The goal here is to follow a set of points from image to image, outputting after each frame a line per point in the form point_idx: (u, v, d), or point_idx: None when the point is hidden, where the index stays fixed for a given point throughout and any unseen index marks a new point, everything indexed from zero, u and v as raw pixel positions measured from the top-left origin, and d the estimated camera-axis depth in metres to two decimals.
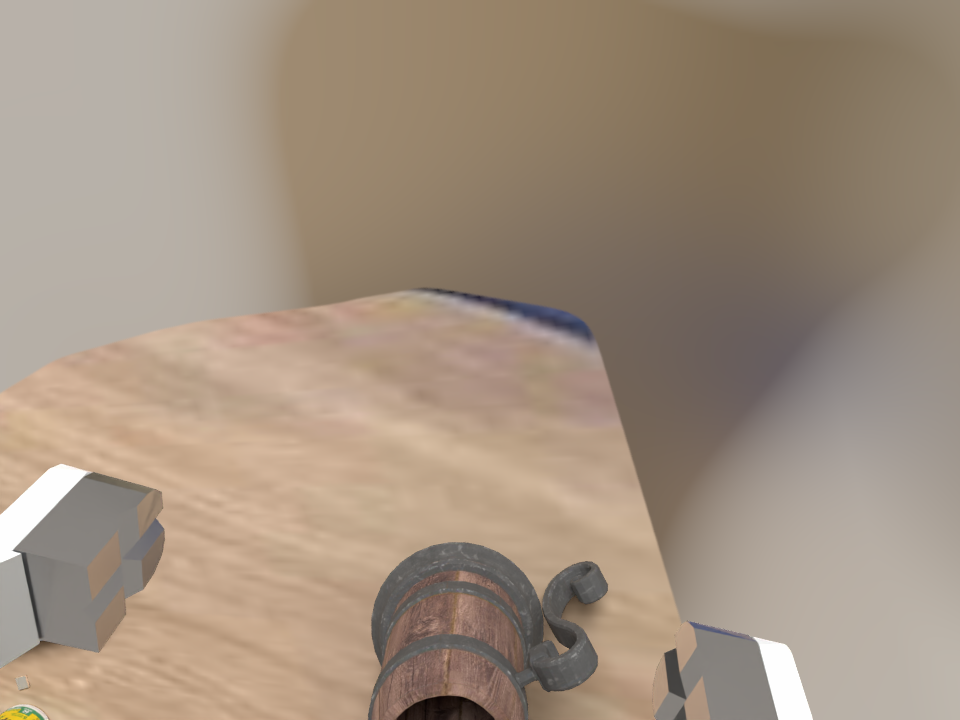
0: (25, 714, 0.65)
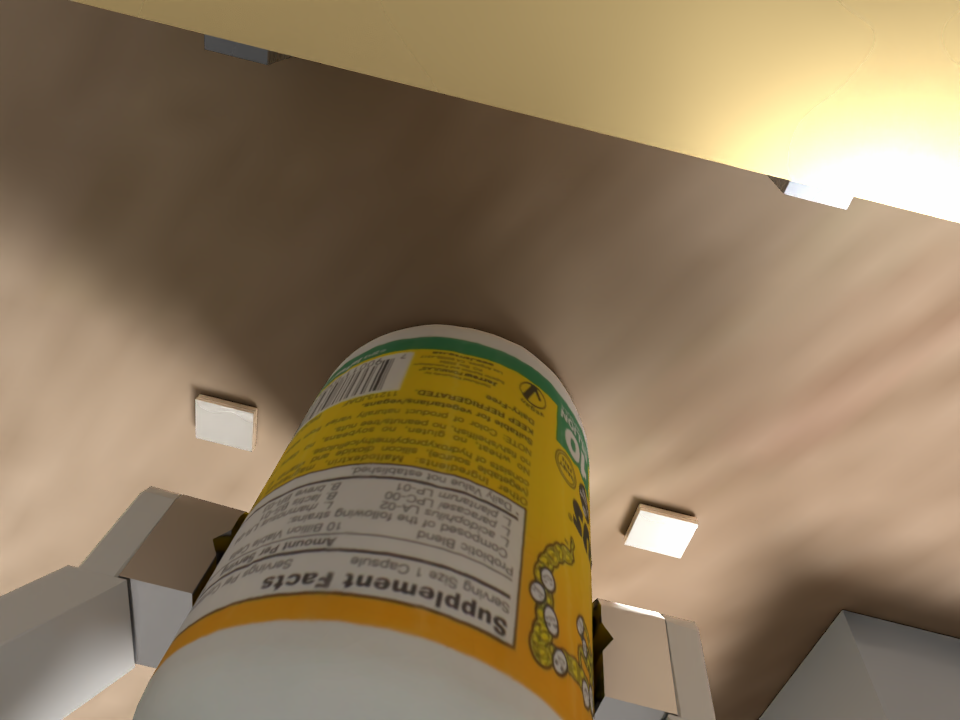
0: None
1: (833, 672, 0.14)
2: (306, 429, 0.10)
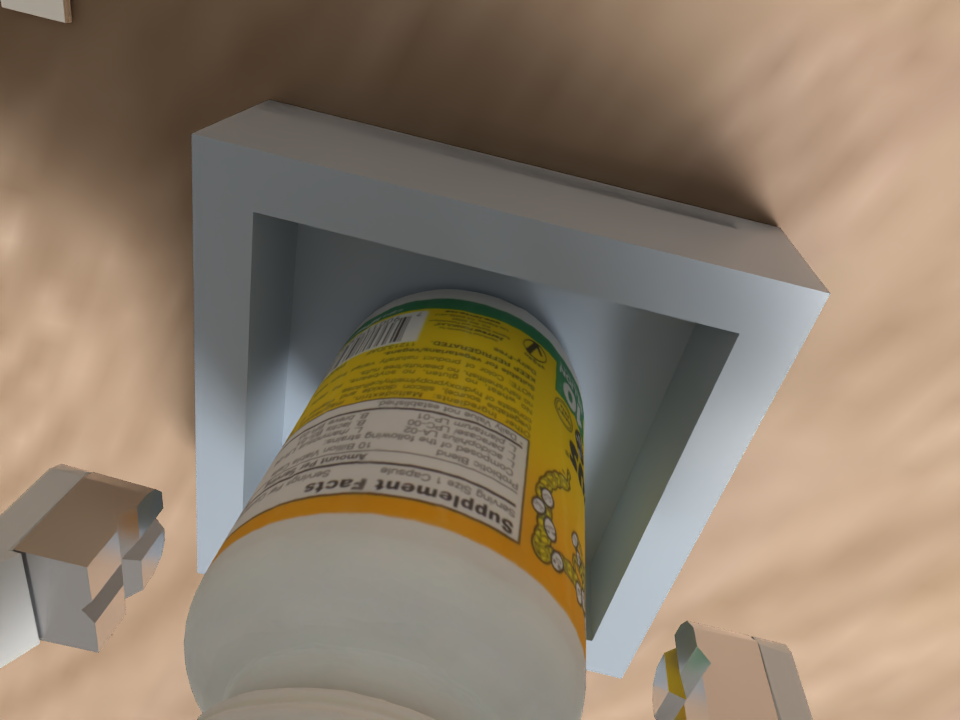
0: None
1: None
2: (332, 375, 0.11)
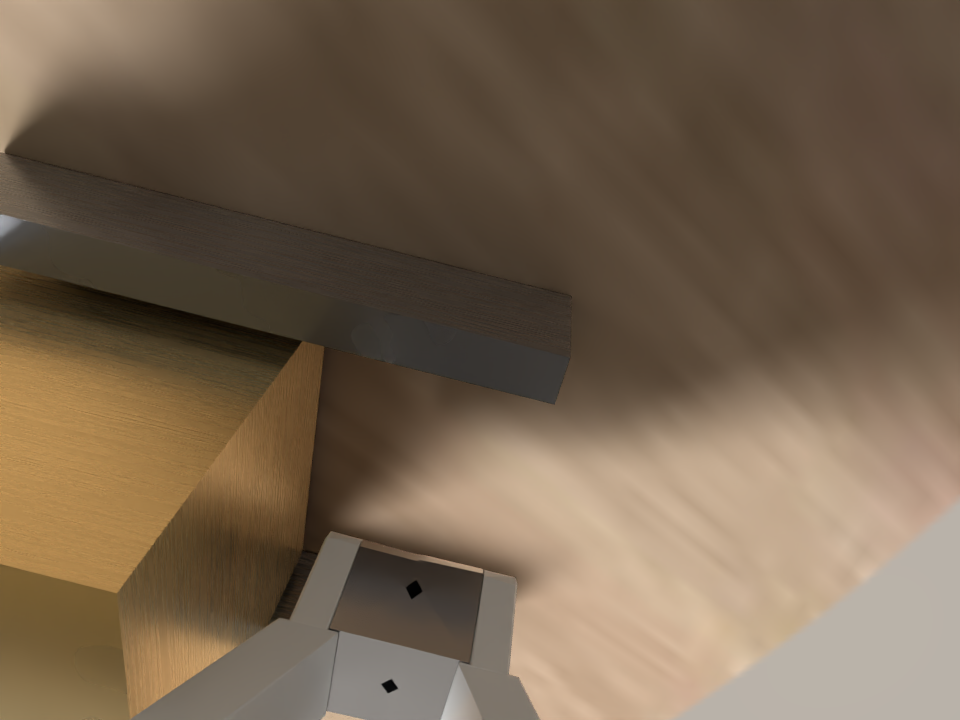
0: None
1: None
2: None
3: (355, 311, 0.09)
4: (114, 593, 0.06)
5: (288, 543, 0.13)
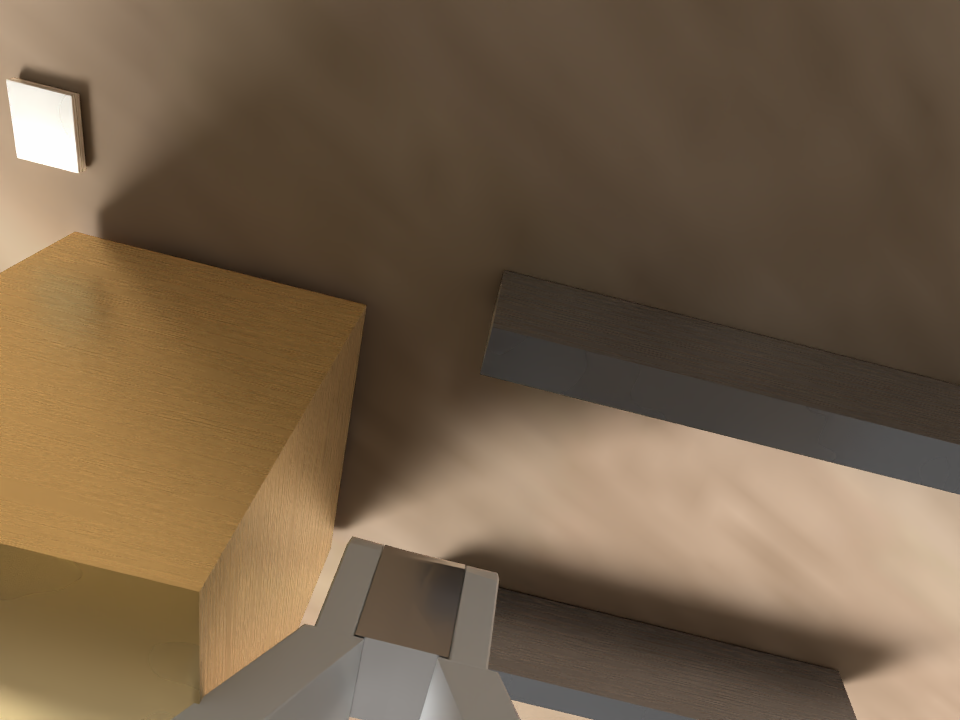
0: None
1: None
2: None
3: (937, 446, 0.10)
4: (196, 592, 0.06)
5: (321, 539, 0.13)
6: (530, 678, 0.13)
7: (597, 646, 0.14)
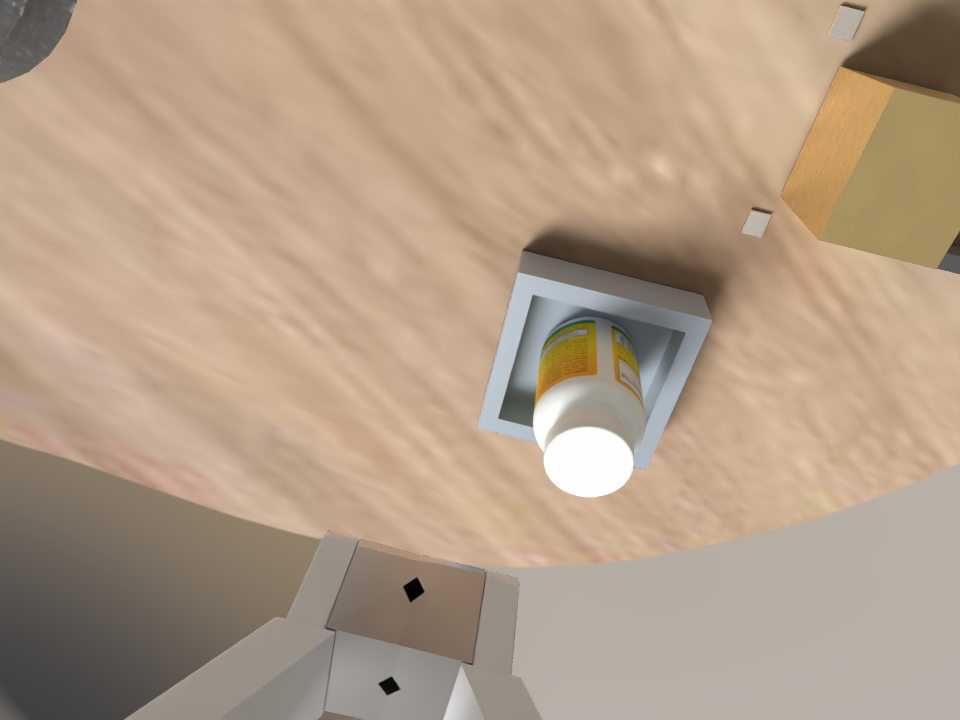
0: None
1: (687, 297, 0.35)
2: (631, 355, 0.34)
3: None
4: None
5: None
6: None
7: None
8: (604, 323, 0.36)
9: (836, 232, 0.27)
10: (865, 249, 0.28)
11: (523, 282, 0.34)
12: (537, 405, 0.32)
